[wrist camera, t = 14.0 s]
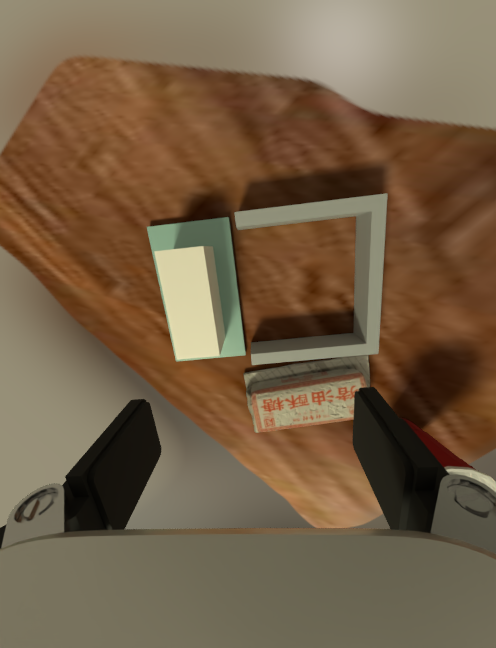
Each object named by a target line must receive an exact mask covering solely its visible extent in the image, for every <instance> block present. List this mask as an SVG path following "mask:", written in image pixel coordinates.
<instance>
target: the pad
mask: <svg viewBox="0 0 496 648" xmlns="http://www.w3.org/2000/svg"><path fill="white" fill-rule="evenodd" d="M147 230H148V235H149V240H150V244H151V249H152V253H153V258H154V262H155V267H156V272H157V276H158V281H159V285H160V290H161V294H162V299H163V304H164V308H165V313H166V317H167V322H168V326H169V331H170V336H171V340H172V345H173V349H174V354H175V359H176V361H186V360H197V359H208V358H219V357H230V356H241V355H246V351H245V343H244V335H243V326H242V318H241V310H240V302H239V294H238V285H237V277H236V269H235V261H234V253H233V245H232V236H231V228H230V220H229V217H225V218H216V219H208V220H200V221H192V222H184V223H176V224H167V225H159V226H151V227H147ZM199 246H213V250H214V258H215V265H216V272H217V279H218V286H219V294H220V301H221V308H222V315H223V322H224V330H225V337H226V338H225V341H224V344H223V347H222V351H221V354H220V356H215V357H203V358H191V359H180V360H177V358H176V353H175V348H174V344H173V339H172V334H171V329H170V325H169V320H168V315H167V310H166V306H165V301H164V296H163V291H162V287H161V282H160V277H159V272H158V267H157V263H156V258H155V253H154V251H162V250H171V249H181V248H190V247H199Z"/></svg>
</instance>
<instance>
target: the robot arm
mask: <svg viewBox="0 0 496 648" xmlns="http://www.w3.org/2000/svg"><path fill="white" fill-rule="evenodd" d="M353 446H354V450H355V452H356V454H357V456H358V459H359V461H360V463H361V465H362V467H363V470H364V472H365V474H366V476H367V478H368V480H369V483H370V485H371V487H372V489H373V491H374V494H375V496H376V498H377V500H378V502H379V505H380V507H381V509H382V511H383V513H384V515H385V517H386V520H387V522H388V524H389V526H390V529H354V528H229V529H228V528H227V529H226V528H220V529H133V530H132V529H131V530H130V529H129V530H128V529H127V530H124V529H125V527H126V525H127V523H128V521H129V519H130V517H131V515H132V513H133V511H134V509H135V506H136V504H137V502H138V500H139V498H140V496H141V494H142V492H143V490H144V488H145V486H146V484H147V482H148V480H149V478H150V476H151V474H152V472H153V470H154V468H155V466H156V464H157V462H158V460H159V457H160V455H161V445H160V441H159V438H158V434H157V430H156V426H155V422H154V418H153V414H152V410H151V406H150V403H149V402H146V400H144V399H138V400H131V401H130V402H129V403H128V404H127V405H126V407H125V408H124V409H123V410H122V411H121V412H120V413H119V415H118V416H117V417H116V418H115V419H114V421H113V422H112V423H111V424H110V425H109V426H108V428H107V429H106V430H105V431H104V432H103V433H102V434H101V436H100V437H99V438H98V439H97V440H96V441H95V443H94V444H93V445H92V446H91V447H90V448H89V450H88V451H87V452H86V453H85V454H84V455H83V456H82V458H81V459H80V460H79V461H78V462H77V464H76V465H75V466H74V467H73V468H72V469H71V470H70V472H69V473H68V474H67V475H66V477H65V478H66V482H65V483H64V484H63V485H60V484H49V485H46V486H43V487H41V488H39V489H37V490H35V491H33V492H32V493H30V494H29V495H27V496H26V497H25V498H24V499H22V500H21V501H20V502H19V503H18V504H17V505H16V506H15V508H14V509H13V510H12V512H11V513H10V515H9V518H8V520H7V524H6V525H5V526H3V527H1V528H0V648H496V492H495V491H494V490H492V489H491V488H490V487H488V486H487V485H485V484H484V483H482V482H480V481H478V480H476V479H473V478H470V477H467V476H465V475H458V474H451V475H450V474H449V473H448V472H447V471H446V469H445V468H444V467H443V466H442V464H441V463H440V462H439V461H438V460H437V458H436V457H435V456H434V455H433V454H432V452H431V451H430V450H429V449H428V448H427V446H426V445H425V444H424V443H423V442H422V440H421V439H420V438H419V437H418V435H417V434H416V433H415V432H414V431H413V429H412V428H411V427H410V426H409V425H408V423H407V422H406V421H405V420H404V419H402V418H399V417H398V416H397V415H396V414H395V412H394V411H393V410H392V409H391V407H390V406H389V405H388V404H387V402H386V401H385V400H384V399H383V397H382V396H381V395H380V394H379V392H378V391H377V390H376V389H375V388H374V387H364V388H359V391H356V392H355V395H354V420H353Z"/></svg>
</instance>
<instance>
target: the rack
mask: <svg viewBox="0 0 496 648" xmlns="http://www.w3.org/2000/svg"><path fill="white" fill-rule="evenodd" d="M386 210H387V193H386V194H378V195H370V196H362V197H354V198H346V199H337V200H329V201H321V202H313V203H305V204H297V205H289V206H280V207H272V208H264V209H256V210H248V211H240V212H235V221H236V228H237V229H238V230H243V229H251V228H260V227H268V226H276V225H285V224H293V223H302V222H310V221H319V220H327V219H335V218H344V217H352V216H356V248H355V291H354V333H347V334H336V335H325V336H315V337H304V338H293V339H283V340H272V341H261V342H251V360H252V365H258V364H269V363H280V362H291V361H303V360H314V359H325V358H336V357H348V356H359V355H370V354H378V351H379V333H380V316H381V298H382V281H383V263H384V246H385V228H386Z"/></svg>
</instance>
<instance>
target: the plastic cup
mask: <svg viewBox="0 0 496 648" xmlns="http://www.w3.org/2000/svg"><path fill="white" fill-rule="evenodd" d="M402 419H404V418H402ZM404 420H405V421H406V422H407V423H408V425H409V426H410V427H411V428H412V429H413V431H414V432H415V433H416V434H417V435H418V437H419V438H420V439H421V440H422V442H423V443H424V444H425V445H426V446H427V448H428V449H429V450H430V451H431V452H432V454H433V455H434V456H435V457H436V458H437V460H438V461H439V462H440V463H441V464H442V466H443V467H444V468H445V469H446V471H447V472H448V473H449V474H450V475H451V474H458V475H465V476H467V477H470V478H473V479H476V480H478V481H480V482H482V483H484V484H485V485H487V486H488V487H490V488H491V489H492V490H494V491H495V492H496V482H495V481H494V480H493V479H492V478H491V477H490V476H488V475H486V474H484V473H482V472H479V471H477V470H476V469H474V468H473V467H472V466H470V465H468V464H467V463H466V462H464V461H463V460H462V459H460V458H458V457H457V456H456V455H454V454H453V453H452V452H451V451H449V450H448V449H447V448H446V447H444V446H443V445H442V444H440V443H439V442H438V441H437V440H435V439H434V438H433V437H432V436H430V435H429V434H428V433H426V432H424V431H423V430H422V429H420V428H419V427H418V426H417V425H415V424H414V423H413V422H411V421H409V420H407V419H404Z"/></svg>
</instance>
